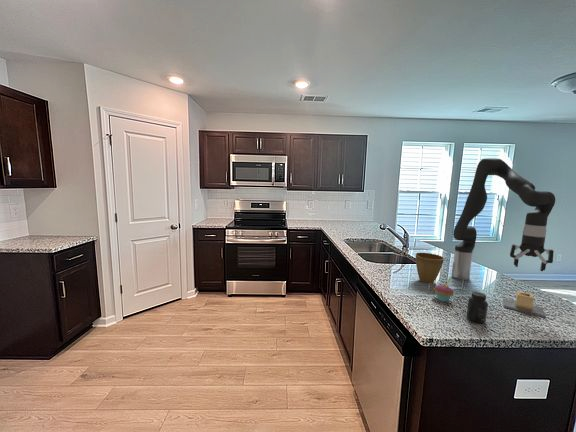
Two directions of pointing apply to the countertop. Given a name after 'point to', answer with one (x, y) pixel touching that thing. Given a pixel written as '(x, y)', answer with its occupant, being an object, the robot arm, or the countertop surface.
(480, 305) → the supplement bottle
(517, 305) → the tan cube
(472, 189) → the robot arm
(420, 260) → the plant pot
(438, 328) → the countertop surface
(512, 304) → the post fixture
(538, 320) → the countertop surface
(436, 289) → the cupcake
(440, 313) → the countertop surface
